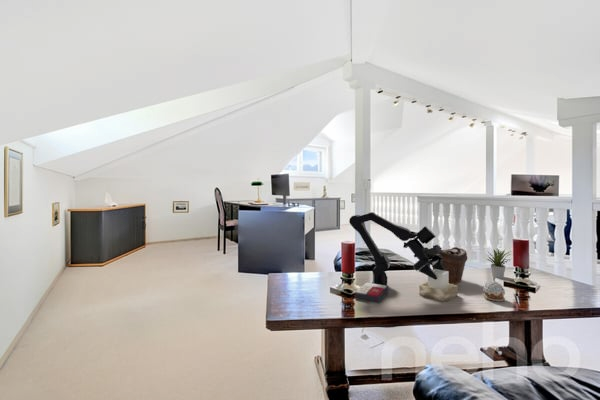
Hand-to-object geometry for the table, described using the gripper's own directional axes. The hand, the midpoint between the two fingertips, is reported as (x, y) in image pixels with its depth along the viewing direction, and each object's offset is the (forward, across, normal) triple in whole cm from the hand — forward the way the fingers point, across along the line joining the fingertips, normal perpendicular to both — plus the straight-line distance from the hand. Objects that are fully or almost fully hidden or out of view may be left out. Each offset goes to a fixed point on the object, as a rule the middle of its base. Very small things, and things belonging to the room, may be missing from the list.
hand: (441, 277), depth 140 cm
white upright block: (+4, 0, +6) cm, 8 cm away
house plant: (+12, +53, 0) cm, 55 cm away
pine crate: (+5, 0, +7) cm, 9 cm away
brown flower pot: (0, +27, +12) cm, 30 cm away
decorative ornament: (+19, +13, -6) cm, 23 cm away
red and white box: (-9, -23, +22) cm, 33 cm away
